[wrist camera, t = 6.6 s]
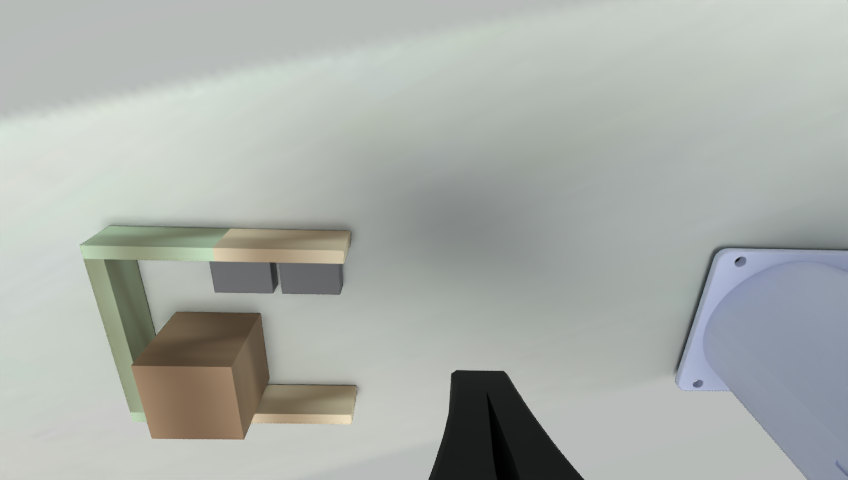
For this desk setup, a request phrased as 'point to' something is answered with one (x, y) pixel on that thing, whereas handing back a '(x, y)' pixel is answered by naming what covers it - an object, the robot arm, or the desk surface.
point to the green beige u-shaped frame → (123, 245)
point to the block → (203, 375)
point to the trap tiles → (265, 277)
